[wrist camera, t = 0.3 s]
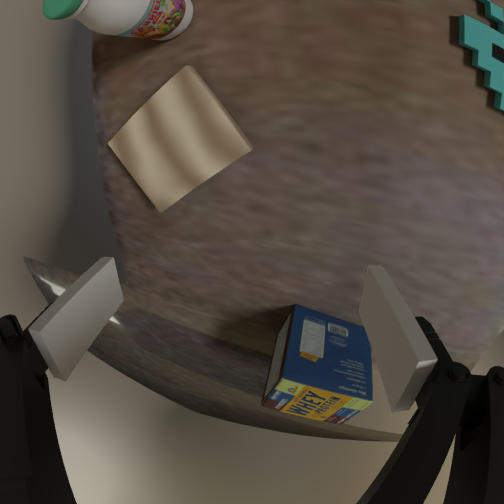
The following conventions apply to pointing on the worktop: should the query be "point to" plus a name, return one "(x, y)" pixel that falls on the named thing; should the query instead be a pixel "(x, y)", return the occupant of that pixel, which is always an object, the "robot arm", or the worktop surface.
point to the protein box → (319, 368)
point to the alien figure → (486, 48)
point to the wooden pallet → (178, 139)
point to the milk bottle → (126, 16)
